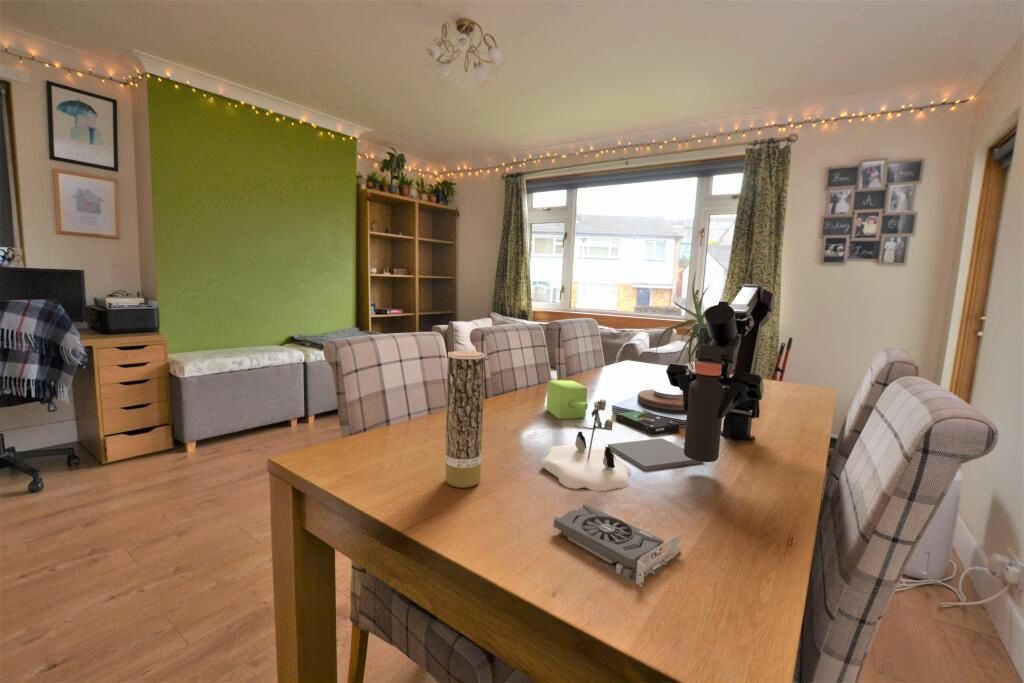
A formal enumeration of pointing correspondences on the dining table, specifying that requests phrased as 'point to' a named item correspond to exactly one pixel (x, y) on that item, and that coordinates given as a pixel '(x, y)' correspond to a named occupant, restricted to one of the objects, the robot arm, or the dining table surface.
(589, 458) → the figurine
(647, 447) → the mat
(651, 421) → the disk drive
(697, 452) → the brown bottle
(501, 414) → the dining table surface
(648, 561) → the graphics card
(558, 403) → the gearbox
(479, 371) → the paper tube
